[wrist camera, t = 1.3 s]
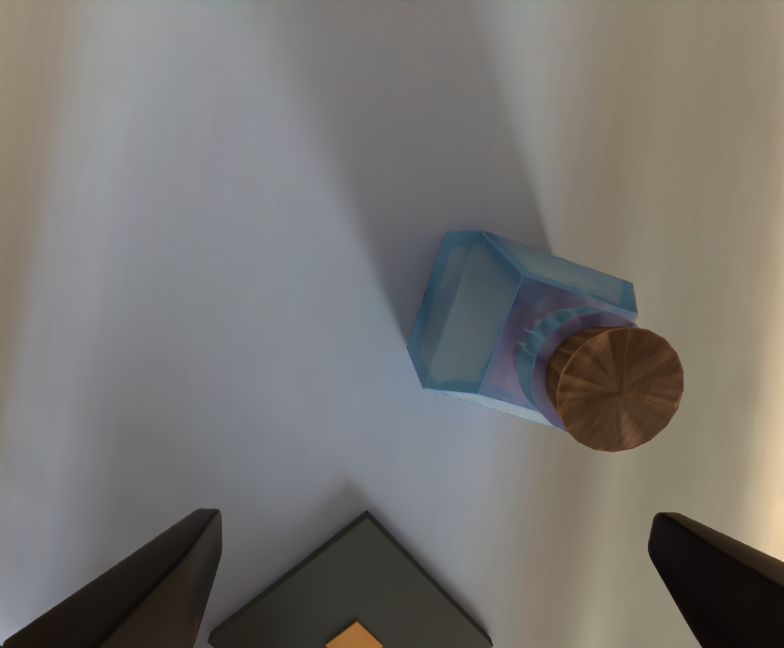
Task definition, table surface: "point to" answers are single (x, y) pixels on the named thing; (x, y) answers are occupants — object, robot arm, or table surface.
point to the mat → (353, 601)
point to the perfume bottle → (543, 342)
